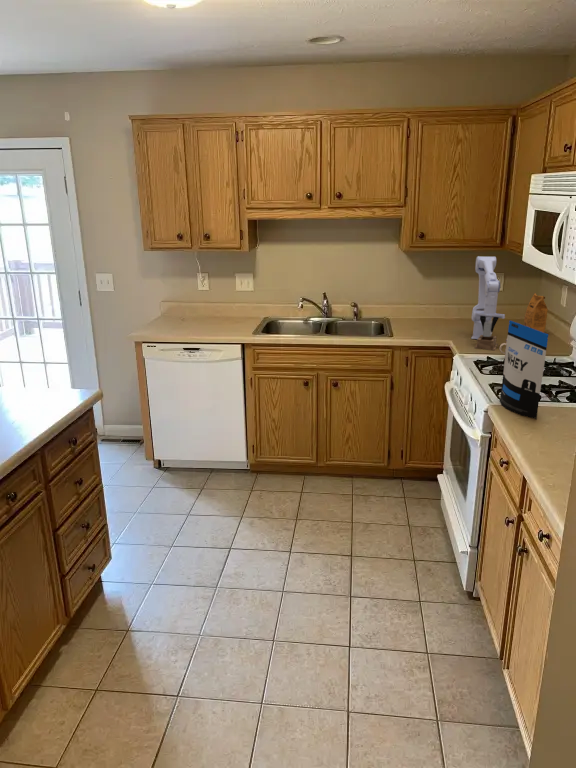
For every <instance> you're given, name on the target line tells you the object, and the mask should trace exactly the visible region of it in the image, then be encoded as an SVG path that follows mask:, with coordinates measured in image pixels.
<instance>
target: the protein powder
mask: <svg viewBox="0 0 576 768" xmlns="http://www.w3.org/2000/svg"><path fill="white" fill-rule="evenodd" d="M507 329H508V330H507V336H506V340H507V341H506V342H507V345H505V350H506V354H504V365H503V373H502V381H501V389H500V399H499V404H500V405H501V406H502V407H503V408H504V409H506V410H507V411H510V412H511V413H514V414H517V415H519V416H522V417H527V418H530V419H534V420H537V418H538V411H539V404H540V395H541V394H540V393H541V388H542V382H543V376H544V368H545V363H546V354H547V348H548V340H549V339H548V338H549V334H548V333H545V332H544V333H543V332H540V331H538V330H535V329H532V328H530V327H527V326H524V324H521V323H519V322H515V321H513V320H510V319H509V321H508V328H507Z"/></svg>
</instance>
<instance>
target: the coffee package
mask: <svg viewBox="0 0 576 768" xmlns="http://www.w3.org/2000/svg"><path fill="white" fill-rule="evenodd" d="M545 299H546V296H544V295H537V293H534V294H533V295H532V297H531V298H530V301H529V303H528V305H527V307H526V311H525V314H524V320H523V325H524V326H527V327H530V328H532V329H535V330H538V331H540V332H543V333H545V332H546V325H547V320H548V319H547V317H548V311H549V309H548V307H547V303H546V302H545Z"/></svg>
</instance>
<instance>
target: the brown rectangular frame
mask: <svg viewBox="0 0 576 768" xmlns="http://www.w3.org/2000/svg"><path fill="white" fill-rule="evenodd" d="M498 345H499V343H497V336H496V335H491V336H490V337H484V336H483V335H481V336H480V337H479V338H478V339H476V344H475V346H474V349H478V350H488V351H495V350H496V349H497V348H498Z"/></svg>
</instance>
